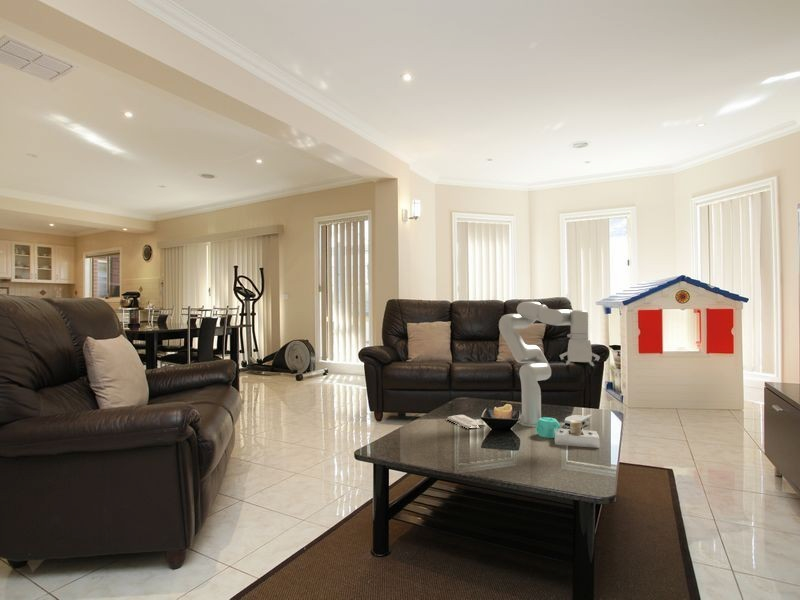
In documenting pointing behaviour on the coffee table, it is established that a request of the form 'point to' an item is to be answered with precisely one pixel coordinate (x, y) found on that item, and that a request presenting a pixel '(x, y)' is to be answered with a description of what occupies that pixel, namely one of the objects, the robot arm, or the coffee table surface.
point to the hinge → (583, 419)
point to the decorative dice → (546, 427)
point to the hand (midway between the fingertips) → (579, 373)
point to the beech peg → (575, 427)
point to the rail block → (576, 438)
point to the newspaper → (465, 421)
